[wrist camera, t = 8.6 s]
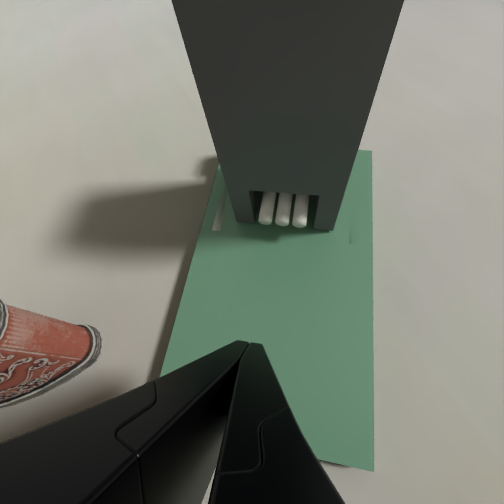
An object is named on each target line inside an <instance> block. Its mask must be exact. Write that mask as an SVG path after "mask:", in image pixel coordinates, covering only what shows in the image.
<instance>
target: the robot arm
mask: <svg viewBox="0 0 504 504" xmlns="http://www.w3.org/2000/svg"><path fill="white" fill-rule="evenodd" d="M216 465H217V466H216ZM215 468H216V470H215ZM214 470H215V475H214V479H213V483H212V488H211V492H210V497H209V501H208V504H345V502H344V501H343V499H342V497H341V496H340V494H339V493H338V491H337V489H336V488H335V486H334V485H333V483H332V481H331V480H330V478H329V477H328V475H327V473H326V472H325V470H324V469H323V467H322V465H321V464H320V462H319V460H318V459H317V457H316V456H315V454H314V452H313V451H312V449H311V447H310V445H309V444H308V442H307V440H306V439H305V437H304V435H303V433H302V431H301V429H300V427H299V425H298V423H297V421H296V419H295V417H294V414H293V412H292V410H291V408H290V406H289V404H288V401H287V399H286V397H285V395H284V392H283V390H282V388H281V385H280V383H279V381H278V378H277V376H276V374H275V372H274V369H273V367H272V365H271V362H270V360H269V358H268V355H267V353H266V351H265V349H264V346H263V345H262V344H260V343H254V342H251V343H249V342H247V341H242V340H236V341H234V342H232V343H230V344H228V345H226V346H224V347H221V348H219V349H217V350H215V351H213V352H211V353H209V354H207V355H205V356H203V357H201V358H199V359H197V360H195V361H193V362H190V363H188V364H186V365H184V366H182V367H180V368H178V369H176V370H174V371H172V372H170V373H168V374H166V375H164V376H162V377H159V378H157V379H155V380H154V381H150V382H148V383H146V384H144V385H142V386H140V387H138V388H135V389H133V390H131V391H129V392H127V393H124V394H122V395H120V396H118V397H115V398H113V399H110V400H108V401H105V402H103V403H101V404H98V405H96V406H93V407H90V408H88V409H85V410H83V411H80V412H78V413H75V414H73V415H70V416H68V417H65V418H63V419H60V420H58V421H55V422H52V423H50V424H47V425H45V426H42V427H40V428H37V429H35V430H32V431H30V432H27V433H25V434H22V435H19V436H17V437H14V438H12V439H9V440H7V441H4V442H2V443H0V504H201V503H202V500H203V498H204V495H205V493H206V490H207V488H208V485H209V483H210V480H211V478H212V475H213V473H214Z"/></svg>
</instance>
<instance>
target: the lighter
mask: <svg viewBox="0 0 504 504" xmlns="http://www.w3.org/2000/svg"><path fill="white" fill-rule="evenodd" d="M102 347H103V339H102V336H101V333H100V332H99V331H98V330H97V329H96V328H94V327H92V326H89V325H86V324H71V323H67V322H64V321H60V320H57V319H54V318H50V317H47V316H43V315H40V314H36V313H33V312H30V311H26V310H23V309H19V308H16V307H13V306H9V305H6V304H5V303H4V301H3V300H2V299H0V408H3V407H7V406H12V405H16V404H18V403H21V402H24V401H26V400H29V399H32V398H35V397H37V396H40V395H43V394H44V393H46V392H48V391H50V390H52V389H54V388H56V387H58V386H60V385H62V384H64V383H66V382H67V381H69V380H71V379H72V378H74V377H75V376H77V375H78V374H80V373H81V372H83V371H84V370H86V369H87V368H89V367H90V366H92V365H93V364H94V363H95V362H96V361H97V359H98V358H99V356H100V354H101V351H102Z"/></svg>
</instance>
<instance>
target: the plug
mask: <svg viewBox="0 0 504 504" xmlns="http://www.w3.org/2000/svg"><path fill="white" fill-rule="evenodd" d="M403 2H404V0H172V4H173V7H174V10H175V14H176V17H177V21H178V24H179V27H180V31H181V34H182V38H183V41H184V44H185V48H186V51H187V55H188V58H189V61H190V65H191V68H192V72H193V75H194V78H195V82H196V85H197V88H198V92H199V95H200V99H201V102H202V105H203V109H204V112H205V116H206V119H207V122H208V126H209V129H210V133H211V136H212V139H213V143H214V146H215V150H216V153H217V156H218V160H219V163H220V167H221V170H222V173H223V177H224V180H225V184H226V187H227V190H228V194H229V197H230V201H231V204H232V207H233V211H234V214H235V218H236V221H237V222H243V223H254V224H255V219H256V213H257V208H258V203H259V198H260V192H261V191H265V192H278V193H292V194H306V195H317V196H316V208H315V219H314V229H319V230H330V231H333V229H334V226H335V223H336V220H337V216H338V213H339V210H340V207H341V203H342V200H343V197H344V194H345V190H346V187H347V184H348V181H349V177H350V174H351V171H352V168H353V164H354V161H355V158H356V155H357V151H358V148H359V145H360V142H361V138H362V135H363V132H364V129H365V125H366V122H367V119H368V116H369V112H370V109H371V106H372V103H373V99H374V96H375V93H376V90H377V86H378V83H379V80H380V77H381V73H382V70H383V67H384V64H385V60H386V57H387V54H388V51H389V47H390V44H391V41H392V38H393V34H394V31H395V28H396V25H397V21H398V18H399V15H400V12H401V8H402V5H403Z"/></svg>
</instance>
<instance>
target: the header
mask: <svg viewBox="0 0 504 504" xmlns="http://www.w3.org/2000/svg"><path fill="white" fill-rule="evenodd" d="M276 193H277V192H265V191H264V192H263V197H262V203H261V208H260V213H259V219H258V221H259V222H260V223H261V224H264V225H268V224H271V223H272V217H273V211H274V205H275V199H276ZM292 195H293V194H292V193H280V194H279V200H278V206H277V213H276V219H275V223H276V224H277V225H279V226H287V225H288V224H289V218H290V210H291V203H292ZM308 203H309V195H306V194H296V198H295V206H294V214H293V222H292V225H293V226H295V227H298V228H303V227H305V226H306V222H307V213H308Z"/></svg>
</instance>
